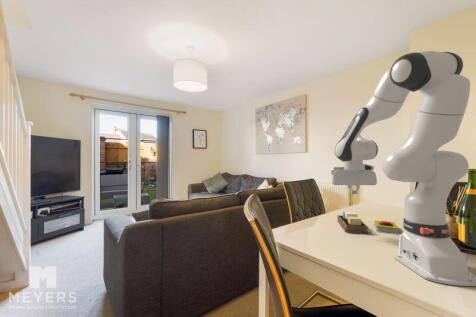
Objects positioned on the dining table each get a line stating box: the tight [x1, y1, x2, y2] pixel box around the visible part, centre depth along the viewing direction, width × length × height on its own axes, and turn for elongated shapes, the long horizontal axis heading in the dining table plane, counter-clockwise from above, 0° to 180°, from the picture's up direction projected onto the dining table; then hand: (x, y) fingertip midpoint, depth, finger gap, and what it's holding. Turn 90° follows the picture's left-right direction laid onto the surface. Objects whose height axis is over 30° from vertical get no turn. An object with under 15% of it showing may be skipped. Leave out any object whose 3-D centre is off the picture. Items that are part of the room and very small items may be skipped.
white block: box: [344, 211, 359, 220], centre depth 117 cm, size 4×5×4 cm
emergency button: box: [373, 220, 400, 236], centre depth 112 cm, size 9×4×15 cm
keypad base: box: [337, 214, 369, 235], centre depth 117 cm, size 20×10×3 cm, turn 166°
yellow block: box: [348, 216, 362, 226], centre depth 111 cm, size 4×5×4 cm
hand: (353, 194), depth 111 cm, fingers closed
